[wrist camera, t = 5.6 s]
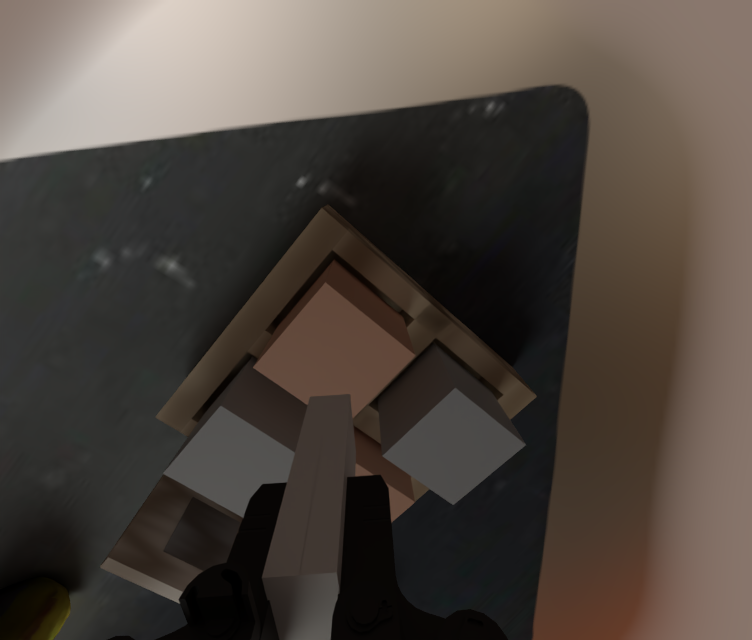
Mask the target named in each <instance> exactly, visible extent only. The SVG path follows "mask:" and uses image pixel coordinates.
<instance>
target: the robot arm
mask: <svg viewBox="0 0 752 640" xmlns="http://www.w3.org/2000/svg"><path fill="white" fill-rule="evenodd" d="M355 469H356V447H355V437H354V428H353V418H352V408H351V398H350V394H342V395H327V396H313V397H310V398H309V402H308V406H307V410H306V413H305V417H304V421H303V425H302V428H301V432H300V436H299V440H298V443H297V447H296V451H295V455H294V459H293V462H292V466H291V470H290V474H289V477H288V481H287V482H284V483H270V484H262V485H261V486H260V487H259V489H258V490H257V491H256V492H255V493H254V495H253V496H252V497H251V498H250V500H249V503H248V505H247V508H246V511H245V513H244V519H242V522H241V524H240V527H239V531H238V533H237V535H236V538H235V540H234V543H233V546H232V548H231V551H230V554H229V557H228V559H227V562H226V563H222V564H218V565H214V566H212V567H210V568H208V569H206V570H205V571H203V572H201V573H200V574H198V575H197V576H196V577H195V578H194V579H193V580H192V581H191V582H190V583H189V584H188V585H187V586H186V588H185V590H184V591H183V593H182V594H181V596H180V598H179V599H178V600H179V602H180V605H181V607H182V610H183V612H184V615H185V618H186V620H187V623H188V624H187V625H186V626H184V627H182V628H180V629H178V630H176V631H175V632H172V633H170V634H168V635H165V636H163V637H160V638H158V639H156V640H508V639H507V637H506V636H505V634H504V633H503V631H502V630H501V629H500V627H499V626H498V624H497V623H496V622H494V621H493V620H492V619H490V618H489V617H488V616H486V615H485V614H484V613H481V612H477V611H474V610H471V609H468V610H459V611H456V612H455V613H453V614H452V615H450V616H449V617H447V618H446V619H445V618H442V617H439V616H436V615H432V614H429V613H426V612H424V611H422V610H420V609H417V608H416V607H414V606H413V605H412V604H411V603H409V602H408V601H407V600H406V598H405V597H404V596H403V594H402V593H401V591H400V589H399V587H398V584H397V580H396V575H395V563H394V550H393V537H392V524H391V511H390V498H389V488H388V486H387V484H386V483H385V481H384V479H383V478H382V476H381V475H368V476H355ZM108 640H134V639H133V638H131V637H130V636H115V637H113V638H110V639H108Z"/></svg>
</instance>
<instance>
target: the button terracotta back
mask: <svg viewBox="0 0 752 640" xmlns="http://www.w3.org/2000/svg"><path fill="white" fill-rule="evenodd" d="M353 428H354V437H355V447H356V469H355V476H368V475H381V476H382V478H383V479H384V481H385V483H386V484H387V486H388V488H389V498H390V511H391V522H393V521H394V520H395V519H396V518H397V517H398V516H400V515H401V514H402V513H403V512H404V511H405V510H407V509H408V508H409V507H410V506H411V505H412V504H413V503H415V499H414V493H413V487H412V482H411V476H410V475H409V474H407V473H406V472H404V471H403V470H402V469H400V468H399V467H397V466H396V465H394V464H393V463H391V462H390V461H388V460H387V459H385V458H384V457H383V456H382V449H381V444H380V443H378V442H377V441H376V440H374V439H373V438H371V437H370V436H368V435H367V434H366V433H364V432H363V431H361V430H360V429H358V428H357V427H355V426H354V425H353Z"/></svg>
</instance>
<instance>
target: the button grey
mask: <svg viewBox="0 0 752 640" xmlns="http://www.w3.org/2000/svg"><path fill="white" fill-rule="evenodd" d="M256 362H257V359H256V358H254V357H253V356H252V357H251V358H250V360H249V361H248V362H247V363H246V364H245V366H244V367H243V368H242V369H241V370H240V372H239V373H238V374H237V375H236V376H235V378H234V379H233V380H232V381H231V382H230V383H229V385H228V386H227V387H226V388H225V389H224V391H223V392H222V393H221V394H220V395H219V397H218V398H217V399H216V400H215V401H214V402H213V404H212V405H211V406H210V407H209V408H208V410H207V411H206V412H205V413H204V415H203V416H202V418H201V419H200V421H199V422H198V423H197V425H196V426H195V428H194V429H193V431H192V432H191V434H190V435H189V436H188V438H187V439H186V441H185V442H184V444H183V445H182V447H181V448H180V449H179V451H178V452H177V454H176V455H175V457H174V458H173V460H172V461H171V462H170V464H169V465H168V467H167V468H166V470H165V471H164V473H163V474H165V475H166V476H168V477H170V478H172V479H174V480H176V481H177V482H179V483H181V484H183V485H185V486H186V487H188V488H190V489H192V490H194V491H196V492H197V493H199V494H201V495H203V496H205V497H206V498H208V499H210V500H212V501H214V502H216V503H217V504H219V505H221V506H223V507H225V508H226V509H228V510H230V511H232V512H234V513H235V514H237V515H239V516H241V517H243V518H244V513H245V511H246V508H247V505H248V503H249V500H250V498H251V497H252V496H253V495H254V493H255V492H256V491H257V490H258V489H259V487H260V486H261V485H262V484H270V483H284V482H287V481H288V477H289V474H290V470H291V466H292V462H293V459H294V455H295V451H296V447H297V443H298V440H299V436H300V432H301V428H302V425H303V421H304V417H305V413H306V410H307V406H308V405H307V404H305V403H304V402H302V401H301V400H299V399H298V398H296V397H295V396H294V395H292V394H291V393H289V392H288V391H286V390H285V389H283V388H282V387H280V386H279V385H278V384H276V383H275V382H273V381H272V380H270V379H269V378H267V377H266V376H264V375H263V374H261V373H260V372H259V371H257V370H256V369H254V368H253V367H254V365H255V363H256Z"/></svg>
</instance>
